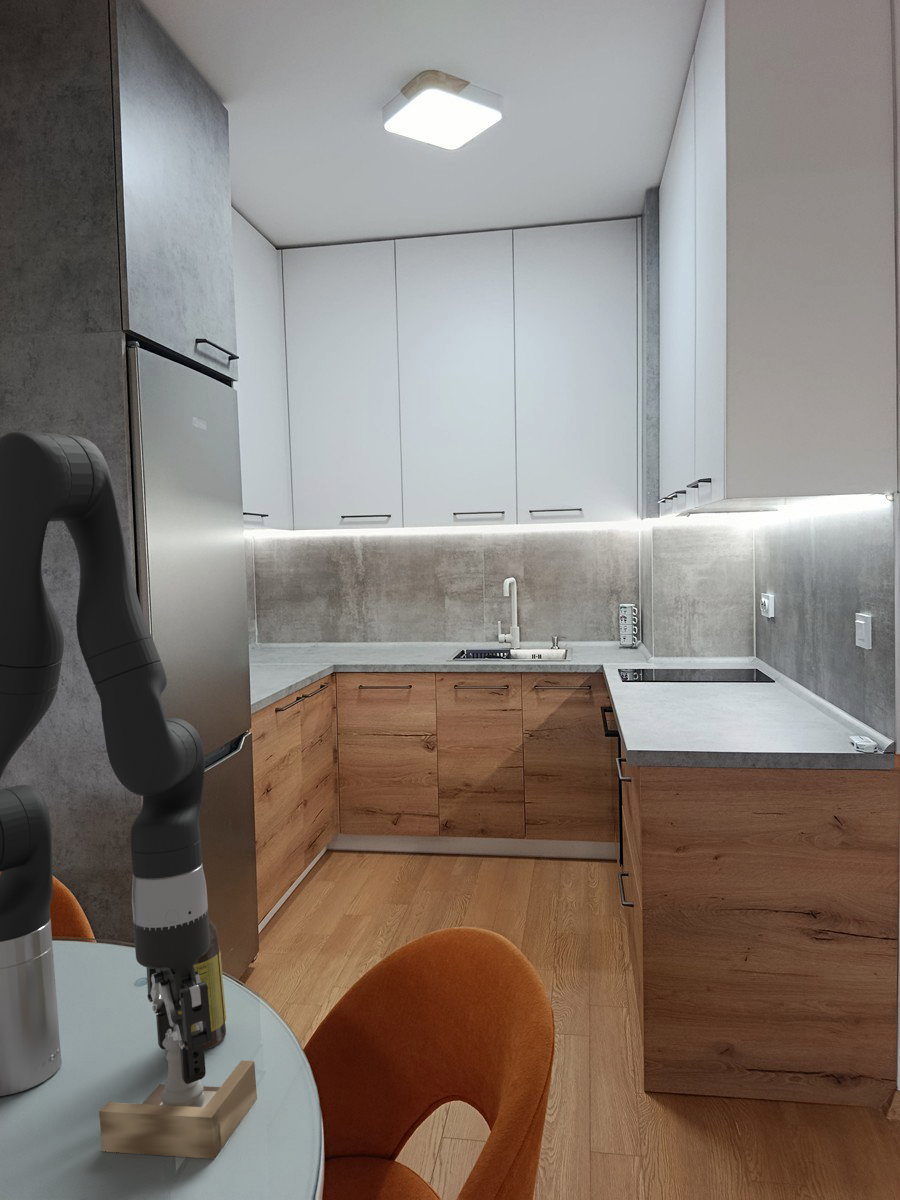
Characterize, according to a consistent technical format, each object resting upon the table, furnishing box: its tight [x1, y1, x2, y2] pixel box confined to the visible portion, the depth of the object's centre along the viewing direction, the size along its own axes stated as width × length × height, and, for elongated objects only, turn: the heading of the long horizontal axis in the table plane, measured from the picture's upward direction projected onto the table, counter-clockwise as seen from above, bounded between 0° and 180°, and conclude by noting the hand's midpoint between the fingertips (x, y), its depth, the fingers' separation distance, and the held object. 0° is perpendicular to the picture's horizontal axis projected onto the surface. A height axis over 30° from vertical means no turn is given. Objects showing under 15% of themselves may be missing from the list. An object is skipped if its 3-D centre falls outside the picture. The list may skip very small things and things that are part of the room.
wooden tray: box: [98, 1060, 258, 1160], centre depth 89 cm, size 12×11×4 cm
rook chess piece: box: [161, 1028, 205, 1107], centre depth 90 cm, size 4×4×8 cm
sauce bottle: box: [178, 918, 227, 1050], centre depth 105 cm, size 6×6×20 cm
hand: (181, 1062), depth 91 cm, fingers open, 8 cm apart
